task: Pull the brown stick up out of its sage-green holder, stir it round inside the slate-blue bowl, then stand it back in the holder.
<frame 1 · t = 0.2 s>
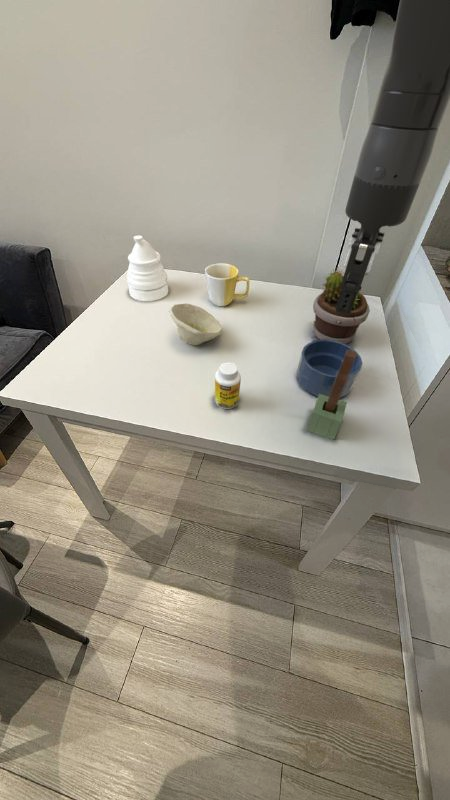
hand: (347, 298, 51), 30 cm above the table, tool pointing down, fingers open, 8 cm apart
bowl: (197, 340, 92), on the table
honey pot: (149, 291, 110), on the table
mug: (226, 303, 106), on the table
supplement bottle: (226, 401, 76), on the table
mixing bowl: (323, 380, 82), on the table
stick holder: (322, 425, 72), on the table
brown stick: (335, 393, 64), in the stick holder
flowerpot: (331, 336, 95), on the table
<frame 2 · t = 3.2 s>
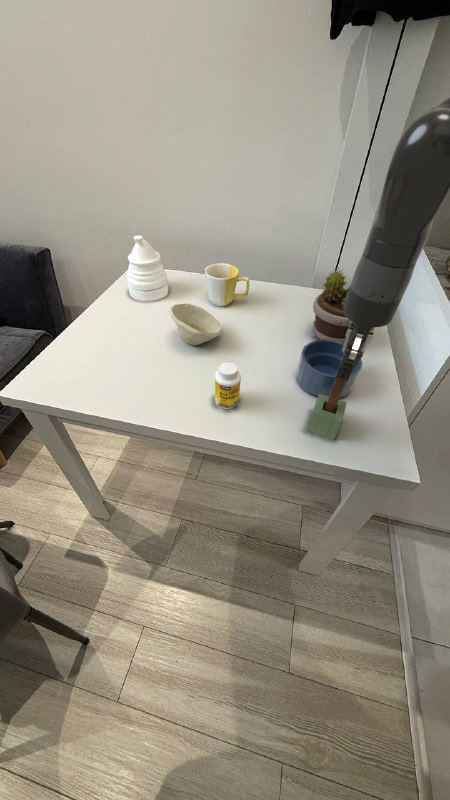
hand: (343, 374, 61), 15 cm above the table, tool pointing down, fingers closed on brown stick, 2 cm apart
brown stick: (335, 393, 64), in the stick holder, touching gripper
everything else where it was.
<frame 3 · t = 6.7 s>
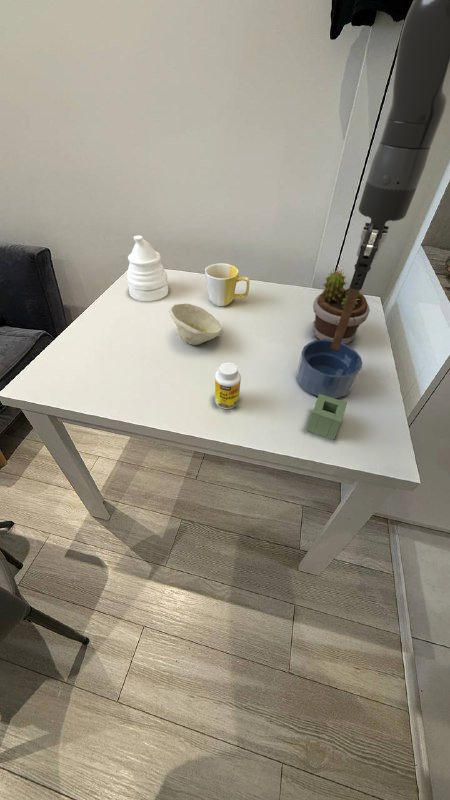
hand: (356, 285, 63), 25 cm above the table, tool pointing down, fingers closed on brown stick, 2 cm apart
brown stick: (348, 308, 67), point 20 cm above the table, touching gripper
everything else where it was.
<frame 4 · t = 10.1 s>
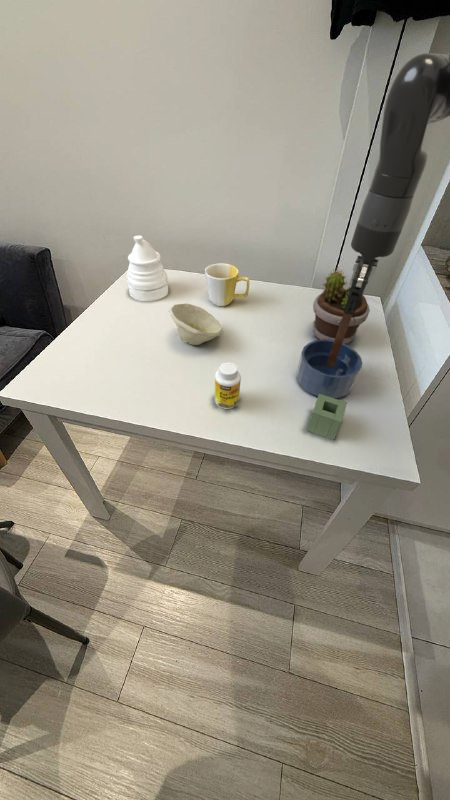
hand: (349, 310, 69), 19 cm above the table, tool pointing down, fingers closed on brown stick, 2 cm apart
brown stick: (342, 330, 73), point 14 cm above the table, touching gripper
everything else where it was.
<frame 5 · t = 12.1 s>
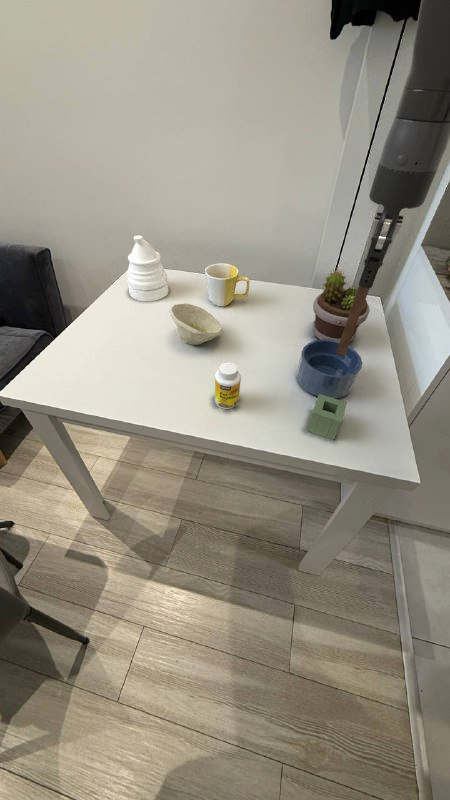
hand: (365, 283, 57), 29 cm above the table, tool pointing down, fingers closed on brown stick, 2 cm apart
brown stick: (356, 309, 60), point 24 cm above the table, touching gripper
everything else where it was.
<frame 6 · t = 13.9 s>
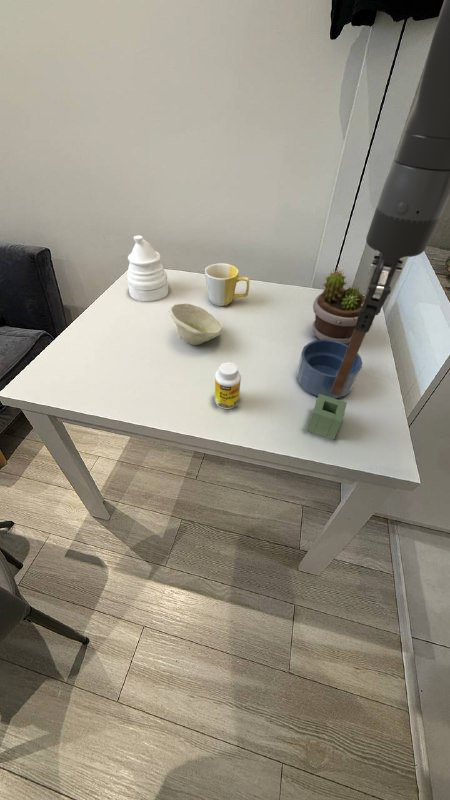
hand: (362, 326, 53), 26 cm above the table, tool pointing down, fingers closed on brown stick, 2 cm apart
brown stick: (352, 350, 57), point 21 cm above the table, touching gripper
everything else where it was.
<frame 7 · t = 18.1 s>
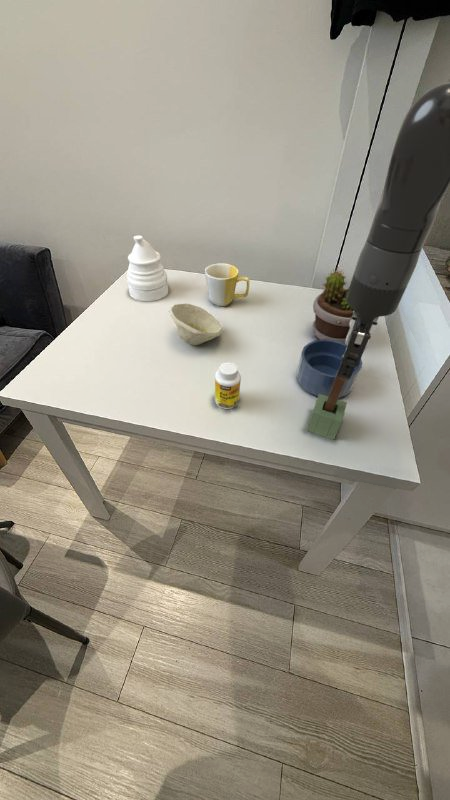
hand: (347, 362, 59), 18 cm above the table, tool pointing down, fingers open, 8 cm apart
brown stick: (334, 393, 64), in the stick holder
everything else where it was.
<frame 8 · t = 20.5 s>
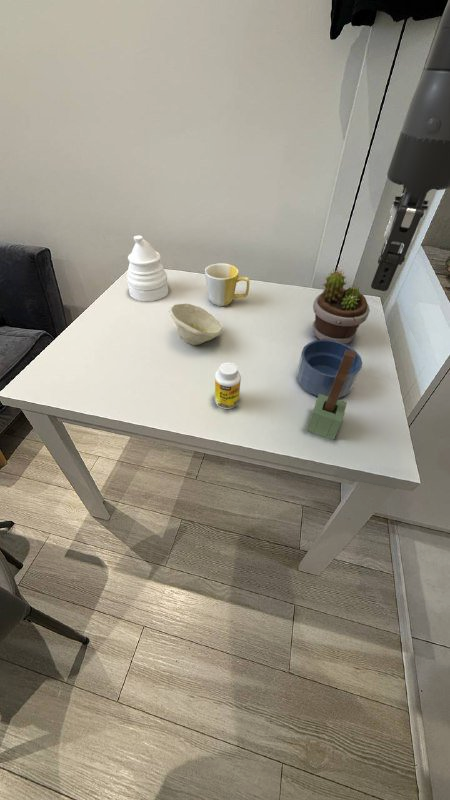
hand: (381, 276, 47), 34 cm above the table, tool pointing down, fingers open, 8 cm apart
nothing on the table moved.
at the end: brown stick 0.1 cm off-centre in the stick holder, point 10.0 cm above the stick holder's base; brown stick tilted 0°; the gripper is holding nothing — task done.
